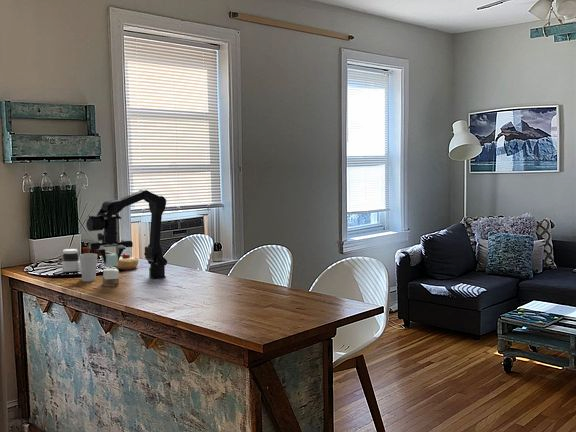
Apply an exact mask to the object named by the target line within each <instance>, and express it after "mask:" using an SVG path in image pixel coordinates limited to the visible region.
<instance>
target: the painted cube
mask: <svg viewBox="0 0 576 432" xmlns="http://www.w3.org/2000/svg"><path fill="white" fill-rule="evenodd" d="M105 255H106V264H104V263H103V264H104V266H105V267H106V268H111V267H116V266H118V255H117V254H116V253H115V252H114V253H105Z"/></svg>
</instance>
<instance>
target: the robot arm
mask: <svg viewBox="0 0 576 432" xmlns="http://www.w3.org/2000/svg"><path fill="white" fill-rule="evenodd" d="M140 201H145V202H147V203H148V209H149V211H150V213H151V217H150V218H151V219H150V232H149V244H148V246H145V247H144V254H143V256H145V259H146V261H147V263H148V264H149V265H150V267H148V269H149V270H148V272H149V274H148V275H149V277H150V278H151V279H153V278H155V279H163V278H162V277H165V278H166V276H167V275H165V273H166V272H165V271H166V269H165V267H166V266H167V264H168V260H167V259H166V258H165V257H164V255H163V249H162V246H161V232H162V231H161V230H162V218H163V217H162V216H163V213H164V212H165V209H166V206H167V198H165V197H164V196H162V195H157V194H155V193H153V192H151V191H149V190H148V189H147V190H146V189H139V190H138V191H136V192H134V193H131V194H128V195H126V196H123V197H120V198H119V199H112V200H111V199H110V200H106V201H104V202H102V204H101V208H100V209H99V211H98V212H97V214H96V215H88V219H87V221H86V229H87V230H88V232H94V231H95V232H97V231H98V232H99V231H103V233H101V232H99V233H97V234H96V235H97V236H96V237H97V239H96V240H97V241H89V242H88V245H87V246H88V249H89V250H93V251H95V250H96V251H98V252H99V253H100V255H101V258H102V261H103V264H106V255H105V254H106V249H105V247H106V248H107V247H109V248H110V247H115V248H116V253H115V254H117V255H118V261H119V258H120V257H122V255H123V254H122V253H123V252H124V250H126V249H127V248H133V247H134V245H133V244H134V243H133V241H132V240H130V239H121V241H118V220H121V219H122V217H121V216H120V215H119V214H118V213H120V212H122V211H123V210H124V208H126V207H129V206H131V205H134V204H136V203H138V202H140Z"/></svg>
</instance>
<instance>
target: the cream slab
mask: <svg viewBox="0 0 576 432" xmlns="http://www.w3.org/2000/svg"><path fill="white" fill-rule="evenodd" d="M102 271H103V273H102V274H103V275H102V278H103V277H104V278H105V279H119V280H120V271H119V269H117V268H116V267H115V268H104V269H102Z"/></svg>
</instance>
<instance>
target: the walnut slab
mask: <svg viewBox="0 0 576 432" xmlns="http://www.w3.org/2000/svg"><path fill="white" fill-rule="evenodd" d="M102 285H103V286H104V287H105V286H109V287H114V286H113V285H120V278H119V279H105V278H104V277H103V276H102Z"/></svg>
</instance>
